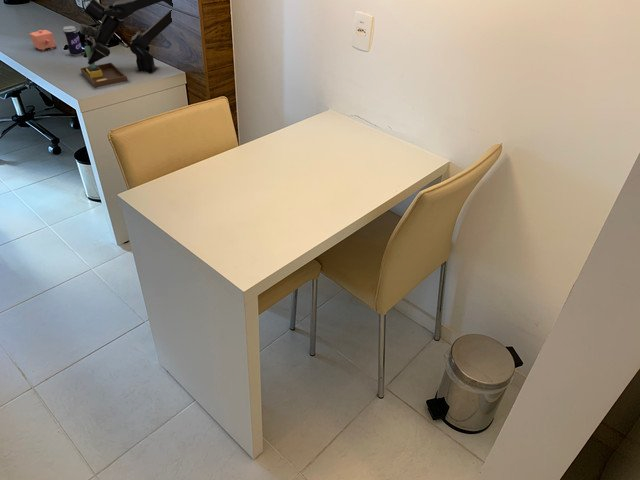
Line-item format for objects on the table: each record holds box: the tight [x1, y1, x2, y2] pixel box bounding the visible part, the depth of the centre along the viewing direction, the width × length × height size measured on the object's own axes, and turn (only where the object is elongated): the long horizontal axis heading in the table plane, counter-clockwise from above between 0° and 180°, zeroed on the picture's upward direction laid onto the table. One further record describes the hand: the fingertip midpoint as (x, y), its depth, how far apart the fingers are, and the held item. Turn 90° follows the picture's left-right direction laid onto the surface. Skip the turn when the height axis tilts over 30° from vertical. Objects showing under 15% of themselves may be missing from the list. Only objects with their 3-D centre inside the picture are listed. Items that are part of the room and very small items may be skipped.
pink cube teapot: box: [29, 29, 57, 52], centre depth 230 cm, size 8×12×8 cm, turn 47°
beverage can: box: [62, 25, 84, 57], centre depth 224 cm, size 6×6×12 cm
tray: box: [80, 62, 128, 88], centre depth 205 cm, size 19×13×3 cm
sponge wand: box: [83, 45, 103, 78], centre depth 203 cm, size 5×6×12 cm
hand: (86, 60), depth 202 cm, fingers open, 9 cm apart
